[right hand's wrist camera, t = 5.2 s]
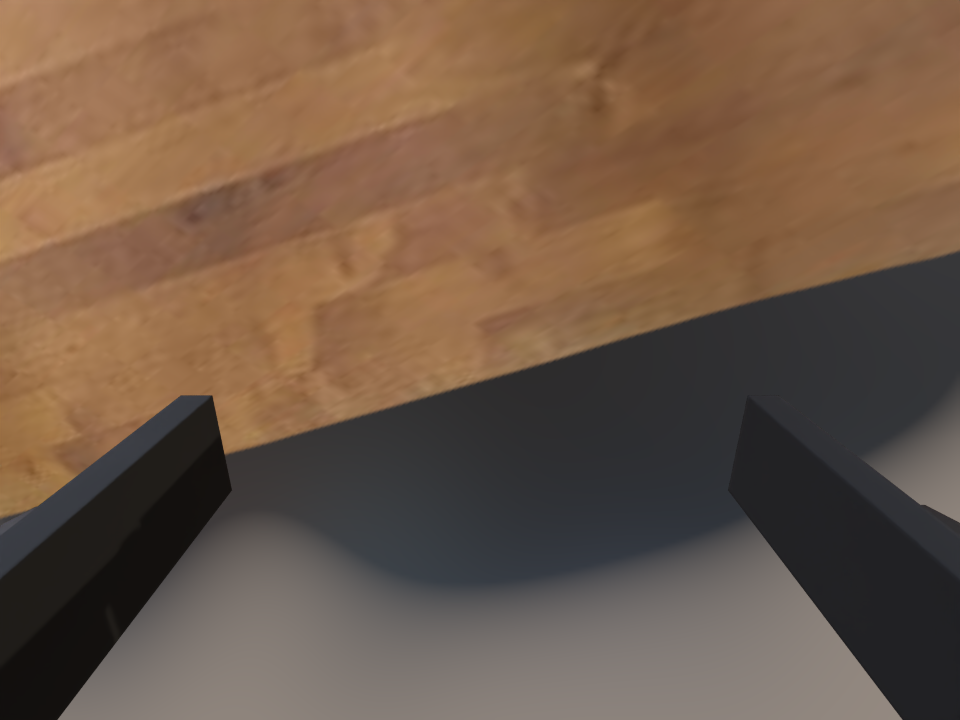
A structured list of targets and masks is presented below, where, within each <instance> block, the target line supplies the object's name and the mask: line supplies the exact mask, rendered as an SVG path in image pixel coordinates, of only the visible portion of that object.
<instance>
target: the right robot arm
mask: <svg viewBox="0 0 960 720" xmlns="http://www.w3.org/2000/svg"><path fill="white" fill-rule="evenodd" d="M231 491H232V489H231V484H230V479H229V474H228V469H227V464H226V460H225V455H224V450H223V445H222V440H221V435H220V431H219V426H218V421H217V416H216V411H215V406H214V402H213V397H212V396H180V397H178V398H177V399H176V400H175V401H173V402H172V403H171V404H169V405H168V406H167V407H166V408H164V409H163V410H162V411H160V412H159V413H158V414H157V415H155V416H154V417H153V418H151V419H150V420H149V421H147V422H146V423H145V424H144V425H142V426H141V427H140V428H138V429H137V430H136V431H135V432H133V433H132V434H131V435H129V436H128V437H127V438H126V439H124V440H123V441H122V442H120V443H119V444H118V445H117V446H115V447H114V448H113V449H111V450H110V451H109V452H107V453H106V454H105V455H104V456H102V457H101V458H100V459H98V460H97V461H96V462H95V463H93V464H92V465H91V466H89V467H88V468H87V469H86V470H84V471H83V472H82V473H80V474H79V475H78V476H76V477H75V478H74V479H73V480H71V481H70V482H69V483H67V484H66V485H65V486H64V487H62V488H61V489H60V490H58V491H57V492H56V493H55V494H53V495H52V496H51V497H49V498H48V499H47V500H46V501H44V502H43V503H42V504H40V505H39V506H38V507H34V508H32V509H30V510H29V511H27V512H25V513H23V514H21V515H19V516H17V517H15V518H13V519H11V520H9V521H7V522H5V523H3V524H1V525H0V720H58V718H59V717H60V716H61V714H62V713H63V712H64V710H65V709H66V708H67V706H68V705H69V704H70V702H71V701H72V700H73V698H74V697H75V696H76V694H77V693H78V692H79V691H80V689H81V688H82V687H83V685H84V684H85V683H86V681H87V680H88V679H89V677H90V676H91V675H92V673H93V672H94V671H95V670H96V668H97V667H98V666H99V664H100V663H101V662H102V660H103V659H104V658H105V656H106V655H107V654H108V652H109V651H110V650H111V649H112V647H113V646H114V645H115V643H116V642H117V641H118V639H119V638H120V637H121V635H122V634H123V633H124V631H125V630H126V629H127V627H128V626H129V625H130V623H131V622H132V621H133V620H134V618H135V617H136V616H137V614H138V613H139V612H140V610H141V609H142V608H143V606H144V605H145V604H146V602H147V601H148V600H149V599H150V597H151V596H152V595H153V593H154V592H155V591H156V589H157V588H158V587H159V585H160V584H161V583H162V581H163V580H164V579H165V578H166V576H167V575H168V574H169V572H170V571H171V570H172V568H173V567H174V566H175V564H176V563H177V562H178V560H179V559H180V558H181V556H182V555H183V554H184V553H185V551H186V550H187V549H188V547H189V546H190V545H191V543H192V542H193V541H194V539H195V538H196V537H197V535H198V534H199V533H200V531H201V530H202V529H203V527H204V526H205V525H206V524H207V522H208V521H209V520H210V518H211V517H212V516H213V514H214V513H215V512H216V510H217V509H218V508H219V506H220V505H221V504H222V502H223V501H224V500H225V499H226V497H227V496H228V495H229V493H230V492H231ZM728 491H729V492H730V493H731V494H732V496H733V497H734V499H735V500H736V501H737V503H738V504H739V505H740V506H741V508H742V509H743V510H744V512H745V513H746V514H747V516H748V517H749V518H750V520H751V521H752V522H753V524H754V525H755V526H756V527H757V529H758V530H759V531H760V533H761V534H762V535H763V537H764V538H765V539H766V541H767V542H768V543H769V545H770V546H771V547H772V549H773V550H774V551H775V553H776V554H777V555H778V556H779V558H780V559H781V560H782V562H783V563H784V564H785V566H786V567H787V568H788V570H789V571H790V572H791V574H792V575H793V576H794V577H795V579H796V580H797V581H798V583H799V584H800V585H801V587H802V588H803V589H804V591H805V592H806V593H807V595H808V596H809V597H810V598H811V600H812V601H813V602H814V604H815V605H816V606H817V608H818V609H819V610H820V612H821V613H822V614H823V616H824V617H825V618H826V620H827V621H828V622H829V624H830V625H831V626H832V627H833V629H834V630H835V631H836V633H837V634H838V635H839V637H840V638H841V639H842V641H843V642H844V643H845V645H846V646H847V647H848V649H849V650H850V651H851V652H852V654H853V655H854V656H855V658H856V659H857V660H858V662H859V663H860V664H861V666H862V667H863V668H864V670H865V671H866V672H867V673H868V675H869V676H870V677H871V679H872V680H873V681H874V683H875V684H876V685H877V687H878V688H879V689H880V691H881V692H882V693H883V695H884V696H885V697H886V699H887V700H888V701H889V702H890V704H891V705H892V706H893V708H894V709H895V710H896V712H897V713H898V714H899V716H900V717H901V718H902V720H960V523H959V522H957V521H955V520H953V519H951V518H949V517H947V516H945V515H943V514H941V513H940V512H938V511H936V510H934V509H932V508H930V507H928V506H926V505H920V504H918V503H917V502H916V501H914V500H913V499H912V498H911V497H909V496H908V495H907V494H905V493H904V492H903V491H902V490H900V489H899V488H898V487H896V486H895V485H894V484H893V483H891V482H890V481H889V480H887V479H886V478H885V477H884V476H882V475H881V474H880V473H878V472H877V471H876V470H874V469H873V468H872V467H871V466H869V465H868V464H867V463H865V462H864V461H863V460H862V459H860V458H859V457H858V456H856V455H855V454H854V453H853V452H851V451H850V450H849V449H847V448H846V447H845V446H843V445H842V444H841V443H840V442H838V441H837V440H836V439H834V438H833V437H832V436H831V435H829V434H828V433H827V432H825V431H824V430H823V429H822V428H820V427H819V426H818V425H816V424H815V423H814V422H813V421H811V420H810V419H809V418H807V417H806V416H805V415H803V414H802V413H801V412H800V411H798V410H797V409H796V408H794V407H793V406H792V405H791V404H789V403H788V402H787V401H785V400H784V399H783V398H782V397H780V396H748V397H747V401H746V406H745V411H744V416H743V421H742V426H741V431H740V435H739V440H738V445H737V450H736V455H735V459H734V464H733V469H732V474H731V479H730V484H729V488H728Z"/></svg>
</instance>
